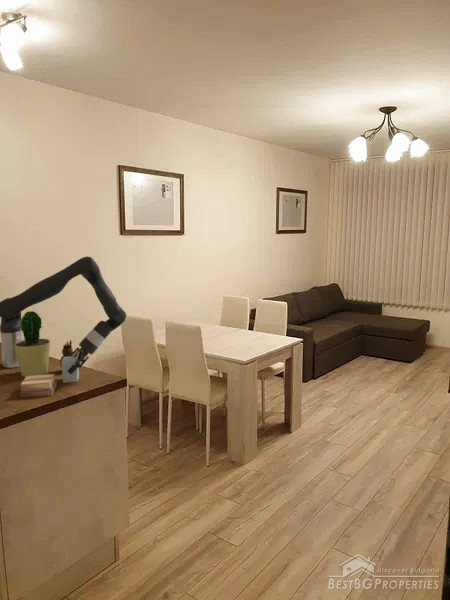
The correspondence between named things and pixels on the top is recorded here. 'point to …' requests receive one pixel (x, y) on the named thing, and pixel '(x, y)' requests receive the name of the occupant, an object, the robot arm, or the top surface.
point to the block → (66, 365)
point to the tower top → (37, 382)
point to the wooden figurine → (66, 351)
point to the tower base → (39, 392)
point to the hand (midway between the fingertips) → (67, 370)
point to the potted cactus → (32, 347)
